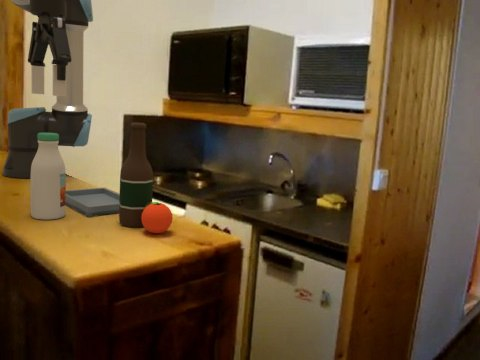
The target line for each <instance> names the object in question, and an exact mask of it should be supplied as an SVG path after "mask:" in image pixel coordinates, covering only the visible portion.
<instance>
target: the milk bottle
mask: <svg viewBox="0 0 480 360" xmlns="http://www.w3.org/2000/svg"><path fill="white" fill-rule="evenodd" d="M37 137H38V143H39V147H38V150H37V153H36V155H35V157H34V159H33V162H32V165H31V178H30V216H31V217H32V218H33V219H36V220H46V221H47V220H57V219H58V220H59V219H61V218H64V217H65V216H66V206H67V205H66V190H67V188H66V187H67V185H66V181H67V180H66V177H67V176H66V174H67V173H66V165H65V163H64V159H63V157H62V156H61V152H60V150H59V146H58V143H59V141H58V140H59V134H57V133H38V136H37Z"/></svg>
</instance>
